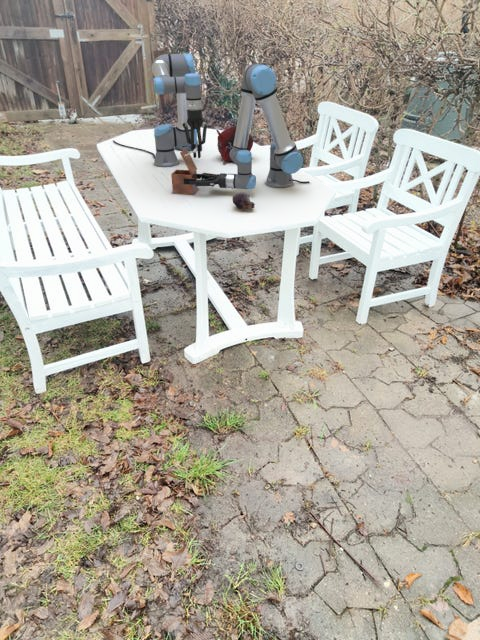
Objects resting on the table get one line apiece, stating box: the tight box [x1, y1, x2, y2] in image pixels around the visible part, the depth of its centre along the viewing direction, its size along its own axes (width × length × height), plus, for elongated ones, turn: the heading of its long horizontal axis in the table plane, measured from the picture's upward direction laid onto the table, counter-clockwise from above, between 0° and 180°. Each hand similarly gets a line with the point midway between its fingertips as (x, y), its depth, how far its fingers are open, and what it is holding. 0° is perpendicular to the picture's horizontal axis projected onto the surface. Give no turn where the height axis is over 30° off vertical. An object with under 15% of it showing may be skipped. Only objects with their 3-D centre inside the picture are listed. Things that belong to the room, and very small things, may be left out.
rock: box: [232, 192, 256, 211], centre depth 223 cm, size 12×9×10 cm
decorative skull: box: [216, 126, 254, 165], centre depth 296 cm, size 21×24×25 cm
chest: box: [170, 169, 199, 196], centre depth 246 cm, size 12×9×10 cm
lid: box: [179, 147, 198, 175], centre depth 237 cm, size 12×9×8 cm
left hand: (197, 157), depth 237 cm, fingers closed on lid, 2 cm apart
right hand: (186, 178), depth 245 cm, fingers closed on chest, 9 cm apart
